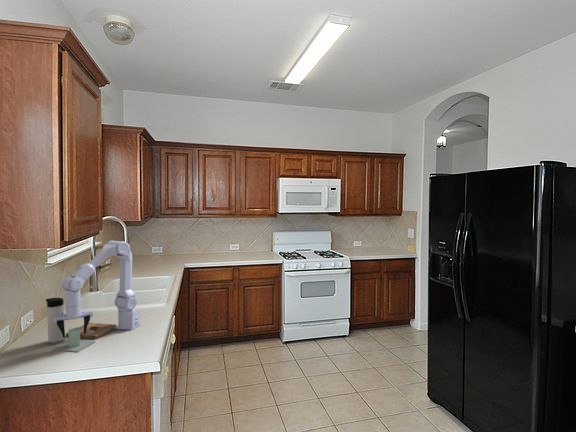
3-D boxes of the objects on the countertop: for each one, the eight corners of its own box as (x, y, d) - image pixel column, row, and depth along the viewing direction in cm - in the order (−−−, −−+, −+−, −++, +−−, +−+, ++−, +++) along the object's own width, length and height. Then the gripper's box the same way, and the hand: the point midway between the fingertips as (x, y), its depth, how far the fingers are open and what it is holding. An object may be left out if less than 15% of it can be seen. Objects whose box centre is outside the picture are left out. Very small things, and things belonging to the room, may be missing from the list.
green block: (80, 342, 153) (79, 326, 152) (80, 345, 149) (79, 329, 149) (69, 344, 151) (69, 328, 150) (69, 347, 147) (68, 331, 147)
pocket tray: (116, 327, 171) (116, 324, 171) (96, 339, 157) (96, 336, 157) (88, 325, 173) (88, 322, 173) (66, 336, 160) (65, 333, 160)
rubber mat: (95, 342, 154) (95, 341, 154) (78, 352, 144) (77, 351, 144) (72, 340, 156) (72, 339, 156) (53, 350, 146) (53, 348, 146)
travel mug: (45, 341, 154) (43, 298, 153) (62, 337, 159) (60, 295, 158) (50, 345, 150) (48, 301, 149) (67, 340, 155) (65, 297, 154)
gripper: (92, 299, 156) (93, 328, 157) (53, 304, 148) (55, 335, 149) (92, 303, 150) (93, 334, 151) (52, 309, 142) (54, 341, 143)
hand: (74, 335), depth 149 cm, fingers open, 7 cm apart
